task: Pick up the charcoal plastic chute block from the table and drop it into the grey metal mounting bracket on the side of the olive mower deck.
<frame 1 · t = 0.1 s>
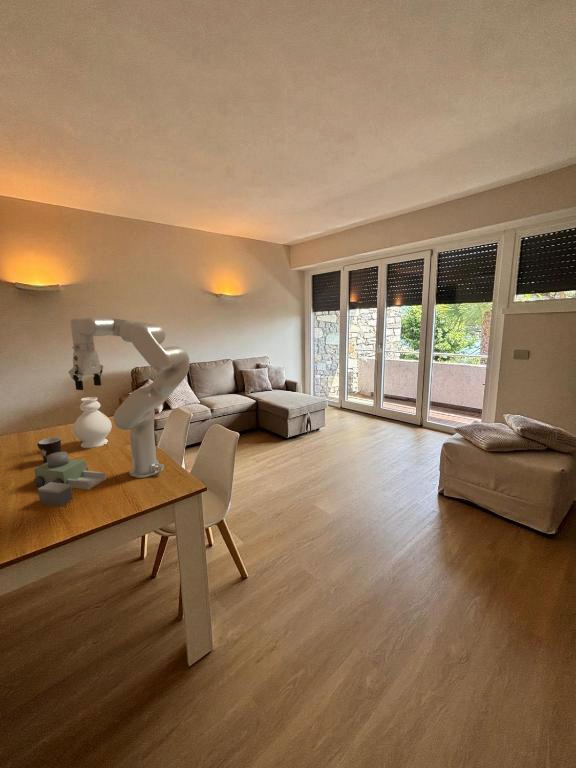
hand: (89, 387, 141), 37 cm above the table, tool pointing down, fingers open, 9 cm apart
coffee mug: (51, 460, 156), on the table
chute: (56, 501, 120), on the table
decorative vase: (94, 443, 177), on the table
mower deck: (62, 480, 136), on the table
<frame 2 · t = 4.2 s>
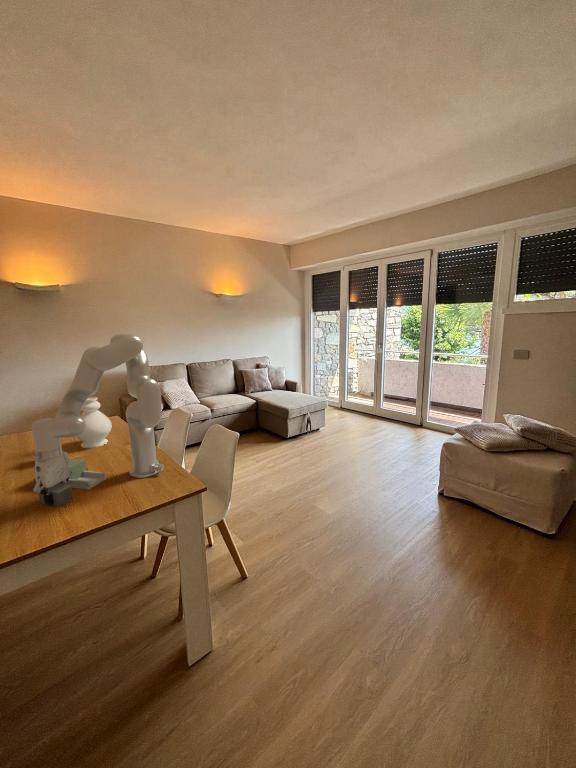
hand: (56, 499, 120), 1 cm above the table, tool pointing down, fingers closed on chute, 5 cm apart
chute: (56, 501, 120), on the table, touching gripper
everything else where it was.
when the fingers open (4 cm above the table, at t = 10.5 s): chute drops 2 cm, resting on mower deck.
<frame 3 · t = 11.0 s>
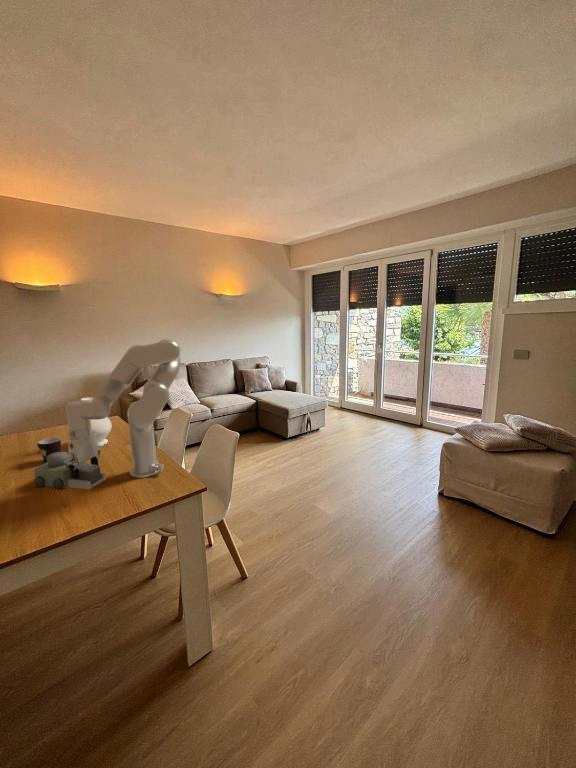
hand: (85, 472, 133), 5 cm above the table, tool pointing down, fingers open, 9 cm apart
chute: (87, 480, 134), point 1 cm above the table, touching mower deck
everything else where it was.
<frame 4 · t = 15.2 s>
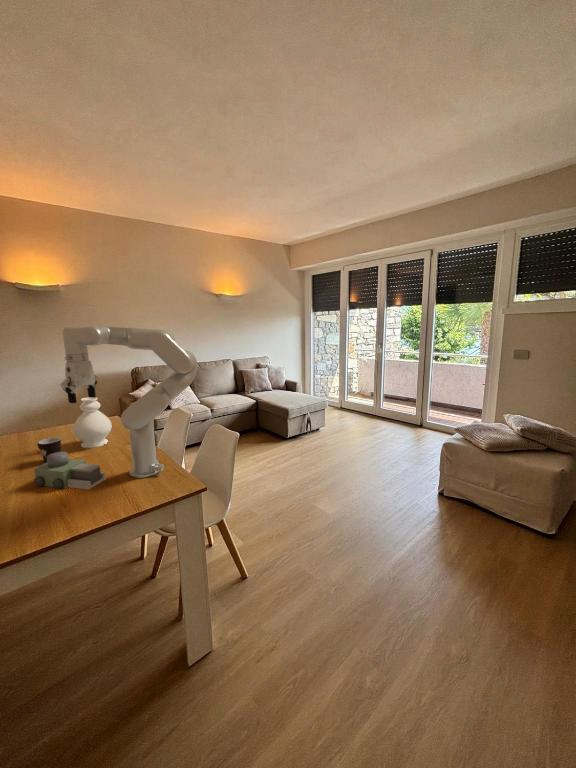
hand: (82, 399, 134), 33 cm above the table, tool pointing down, fingers open, 9 cm apart
nothing on the table moved.
at the end: chute 0.1 cm from the target spot on the mower deck, point 1.0 cm above the mower deck's base; chute tilted 0°; the gripper is holding nothing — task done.
